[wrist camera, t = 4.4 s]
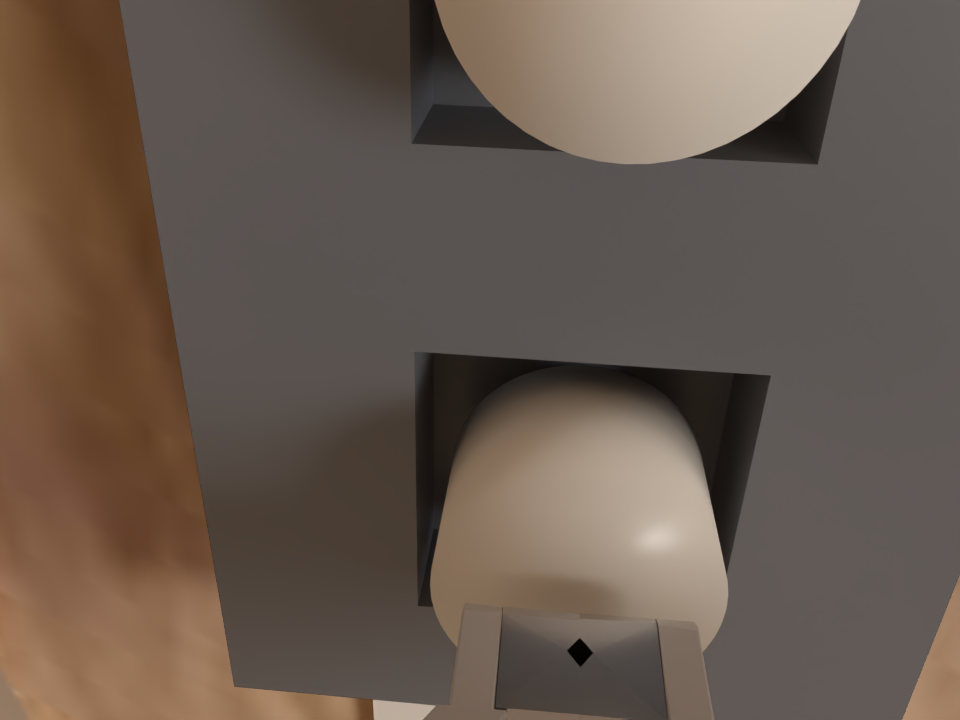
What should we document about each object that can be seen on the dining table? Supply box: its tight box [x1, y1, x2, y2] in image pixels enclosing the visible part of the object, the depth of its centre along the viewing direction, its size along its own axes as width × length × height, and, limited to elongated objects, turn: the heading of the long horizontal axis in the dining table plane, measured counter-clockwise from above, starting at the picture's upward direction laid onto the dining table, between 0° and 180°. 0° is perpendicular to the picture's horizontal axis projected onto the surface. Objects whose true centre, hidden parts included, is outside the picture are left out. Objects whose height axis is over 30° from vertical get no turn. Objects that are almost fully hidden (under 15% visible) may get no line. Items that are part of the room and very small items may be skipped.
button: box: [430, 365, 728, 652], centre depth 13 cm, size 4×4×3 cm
